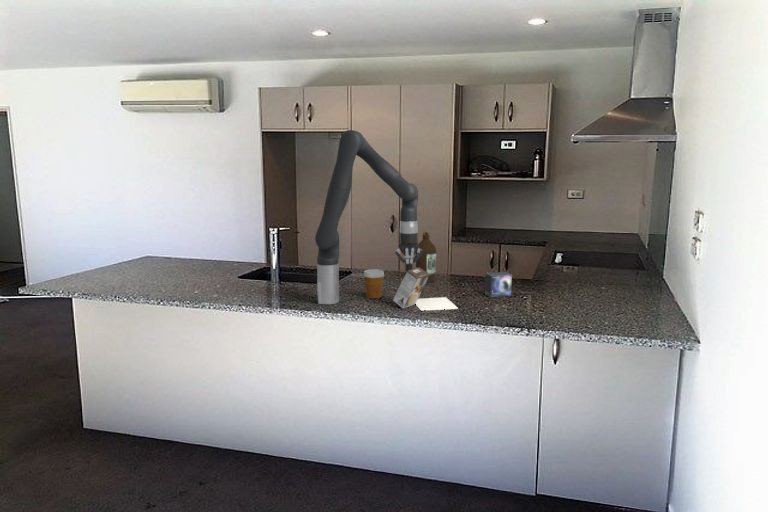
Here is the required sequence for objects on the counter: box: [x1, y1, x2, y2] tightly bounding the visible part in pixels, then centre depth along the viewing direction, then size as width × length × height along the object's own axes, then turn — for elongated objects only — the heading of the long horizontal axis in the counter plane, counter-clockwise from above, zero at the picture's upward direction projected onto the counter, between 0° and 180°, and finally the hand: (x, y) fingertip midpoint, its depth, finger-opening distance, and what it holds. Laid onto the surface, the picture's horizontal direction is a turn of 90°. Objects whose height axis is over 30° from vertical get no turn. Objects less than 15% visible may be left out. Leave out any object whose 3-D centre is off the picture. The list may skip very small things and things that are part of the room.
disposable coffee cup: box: [363, 268, 385, 299], centre depth 263 cm, size 10×10×12 cm
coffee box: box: [392, 267, 430, 309], centre depth 245 cm, size 9×6×16 cm
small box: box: [484, 271, 513, 299], centre depth 265 cm, size 11×6×10 cm, turn 105°
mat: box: [415, 296, 459, 311], centre depth 252 cm, size 16×18×1 cm
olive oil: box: [414, 231, 437, 284], centre depth 294 cm, size 11×11×25 cm
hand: (408, 272), depth 247 cm, fingers closed
